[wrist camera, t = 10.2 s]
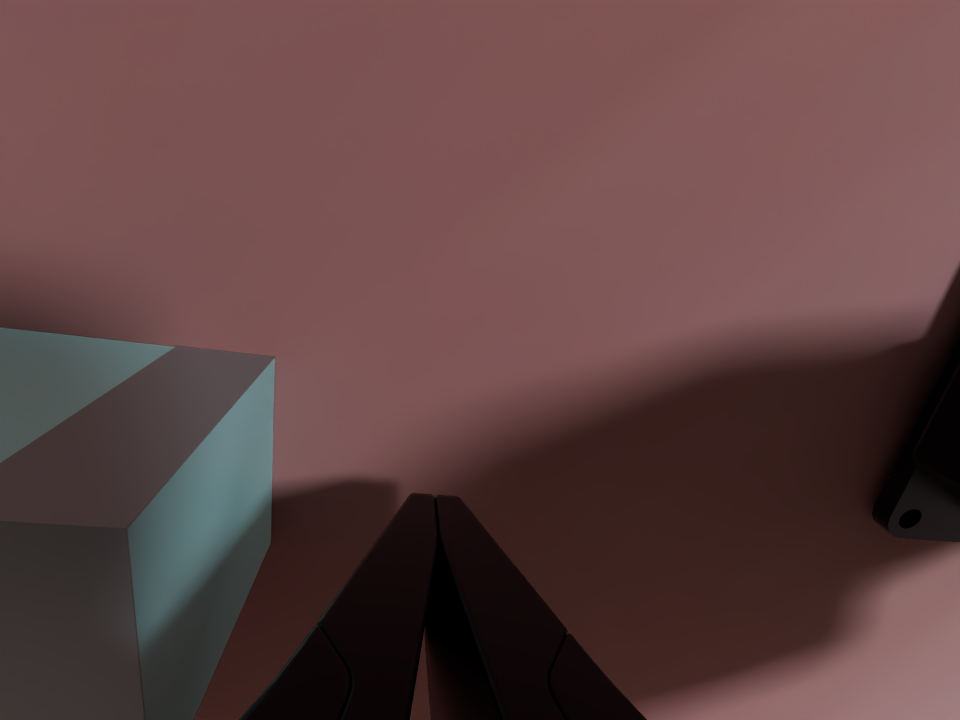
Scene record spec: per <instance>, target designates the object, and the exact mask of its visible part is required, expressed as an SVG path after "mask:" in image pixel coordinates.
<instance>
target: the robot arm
mask: <svg viewBox="0 0 960 720" xmlns="http://www.w3.org/2000/svg"><path fill="white" fill-rule="evenodd" d="M872 515H873V519H874V520H875V522H876V523H877V524H879V525H880V526H881V527H882V528H884V529H885V530H886V531H888V532H889V533H890V534H892V535H893V536H896V537H899V538H911V539H924V540H938V541H951V542H960V338H959V340H958V342H957V344H956V346H955V348H954V350H953V352H952V354H951V356H950V358H949V360H948V362H947V364H946V366H945V368H944V370H943V372H942V374H941V376H940V377H939V379H938V381H937V383H936V385H935V387H934V389H933V391H932V393H931V395H930V397H929V399H928V401H927V403H926V405H925V407H924V409H923V411H922V413H921V415H920V417H919V419H918V421H917V423H916V425H915V427H914V429H913V431H912V433H911V435H910V437H909V438H908V440H907V442H906V444H905V446H904V448H903V450H902V452H901V454H900V456H899V458H898V460H897V462H896V464H895V466H894V468H893V470H892V472H891V474H890V476H889V478H888V480H887V482H886V484H885V486H884V488H883V490H882V492H881V494H880V496H879V498H878V500H877V501H876V503H875V505H874V509H873V512H872ZM424 628H425V631H424ZM424 633H425V651H426V664H427V676H428V689H429V702H430V714H431V720H647V719H646V718H645V717H644V716H643V715H642V714H641V713H640V712H639V711H638V710H637V709H636V708H635V707H634V705H633V704H632V703H631V702H630V701H629V700H628V699H627V698H626V697H625V696H624V695H623V694H622V693H621V692H620V691H619V690H618V688H617V687H616V686H615V685H614V684H613V683H612V682H611V681H610V680H609V678H608V677H607V676H606V675H605V674H604V673H603V672H602V670H601V669H600V668H599V667H598V666H597V665H596V663H595V662H594V661H593V660H592V659H591V658H590V656H589V655H588V654H587V653H586V652H585V650H584V649H583V648H582V647H581V646H580V644H579V643H578V642H577V641H576V639H575V638H574V637H573V636H572V635H571V634H568V630H567V629H566V627H565V626H564V625H563V624H562V623H561V621H560V620H559V619H558V618H557V616H556V615H555V614H554V613H553V611H552V610H551V609H550V608H549V607H548V605H547V604H546V603H545V602H544V600H543V599H542V598H541V597H540V596H539V594H538V593H537V592H536V591H535V589H534V588H533V587H532V586H531V585H530V583H529V582H528V581H527V580H526V578H525V577H524V576H523V575H522V573H521V572H520V571H519V570H518V569H517V567H516V566H515V565H514V564H513V562H512V561H511V560H510V559H509V558H508V556H507V555H506V554H505V553H504V551H503V550H502V549H501V548H500V546H499V545H498V544H497V543H496V542H495V540H494V539H493V538H492V537H491V535H490V534H489V533H488V532H487V531H486V529H485V528H484V527H483V526H482V524H481V523H480V522H479V521H478V520H477V518H476V517H475V516H474V515H473V513H472V512H471V511H470V510H469V508H468V507H467V506H466V505H465V504H464V502H463V501H462V500H461V499H460V498H459V497H457V496H446V495H437V496H436V497H435V498H434V496H433V495H431V494H419V493H412V494H410V495H409V496H408V498H407V499H406V500H405V502H404V503H403V505H402V506H401V507H400V509H399V510H398V512H397V513H396V514H395V516H394V517H393V518H392V520H391V521H390V523H389V524H388V525H387V527H386V528H385V530H384V531H383V532H382V534H381V535H380V536H379V538H378V539H377V541H376V542H375V543H374V545H373V546H372V548H371V549H370V550H369V552H368V553H367V554H366V556H365V557H364V559H363V560H362V561H361V563H360V564H359V566H358V567H357V568H356V570H355V571H354V572H353V574H352V575H351V577H350V578H349V579H348V581H347V582H346V584H345V585H344V586H343V588H342V589H341V590H340V592H339V593H338V595H337V596H336V597H335V599H334V600H333V602H332V603H331V604H330V606H329V607H328V608H327V610H326V611H325V613H324V614H323V615H322V617H321V618H320V620H319V621H318V622H317V626H315V627H314V628H313V629H312V630H311V632H310V633H309V634H308V636H307V637H306V638H305V640H304V641H303V643H302V644H301V645H300V647H299V648H298V649H297V651H296V652H295V653H294V655H293V656H292V657H291V658H290V660H289V661H288V662H287V664H286V665H285V666H284V667H283V669H282V670H281V671H280V673H279V674H278V675H277V677H276V678H275V679H274V680H273V682H272V683H271V684H270V685H269V686H268V687H267V688H266V690H265V691H264V692H263V693H262V694H261V695H260V696H259V698H258V699H257V700H256V701H255V702H254V703H253V704H252V706H251V707H250V708H249V709H248V710H247V711H246V712H245V714H244V715H243V716H242V717H241V718H240V719H239V720H410V714H411V708H412V701H413V695H414V689H415V683H416V677H417V671H418V665H419V658H420V652H421V646H422V640H423V634H424Z"/></svg>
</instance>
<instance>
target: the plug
mask: <svg viewBox="0 0 960 720" xmlns="http://www.w3.org/2000/svg"><path fill="white" fill-rule="evenodd" d="M274 384H275V356H266V355H257V354H248V353H239V352H230V351H221V350H212V349H203V348H194V347H185V346H176V347H172V346H163V345H154V344H145V343H136V342H128V341H119V340H110V339H101V338H92V337H83V336H74V335H65V334H56V333H47V332H38V331H29V330H20V329H11V328H2V327H0V720H194V719H195V716H196V714H197V712H198V709H199V707H200V705H201V702H202V700H203V698H204V696H205V693H206V691H207V689H208V686H209V684H210V682H211V679H212V677H213V675H214V673H215V670H216V668H217V666H218V663H219V661H220V659H221V656H222V654H223V652H224V650H225V647H226V645H227V643H228V640H229V638H230V636H231V634H232V631H233V629H234V627H235V624H236V622H237V620H238V617H239V615H240V613H241V611H242V608H243V606H244V604H245V601H246V599H247V597H248V594H249V592H250V590H251V588H252V585H253V583H254V581H255V578H256V576H257V574H258V571H259V569H260V567H261V565H262V562H263V560H264V558H265V555H266V553H267V551H268V548H269V546H270V544H271V520H272V475H273V429H274Z"/></svg>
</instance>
